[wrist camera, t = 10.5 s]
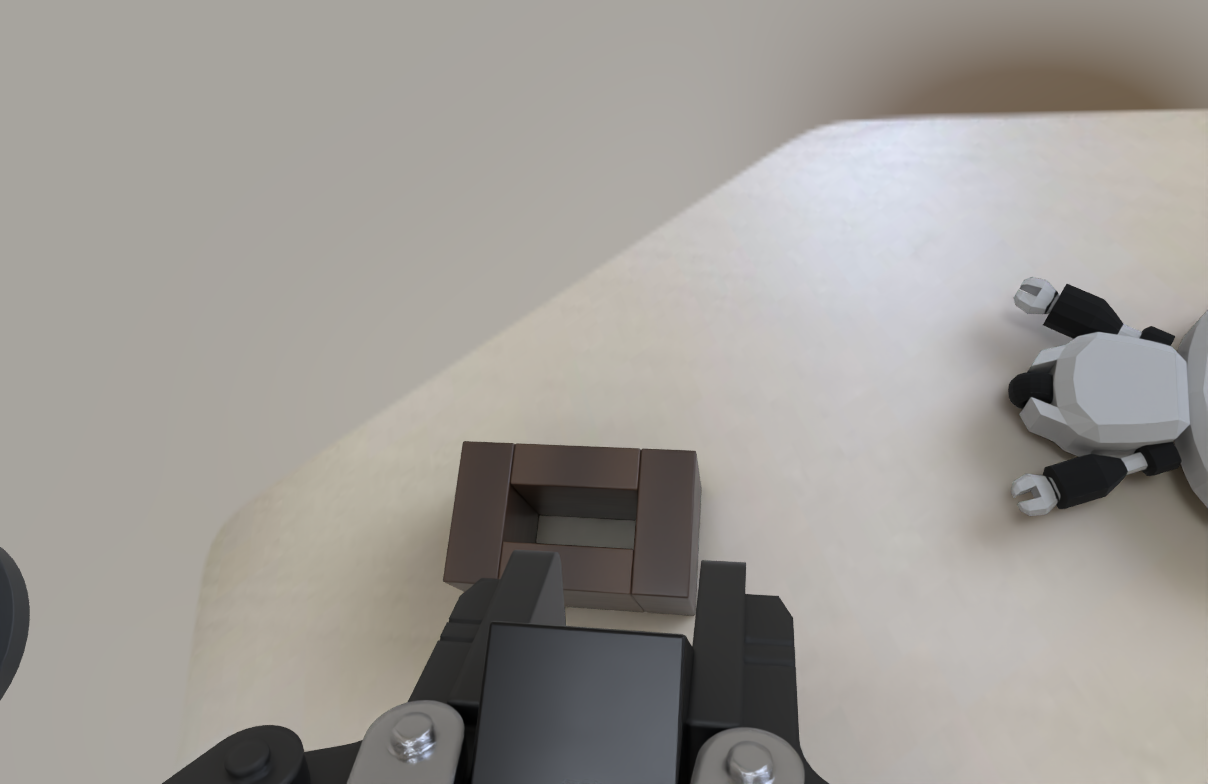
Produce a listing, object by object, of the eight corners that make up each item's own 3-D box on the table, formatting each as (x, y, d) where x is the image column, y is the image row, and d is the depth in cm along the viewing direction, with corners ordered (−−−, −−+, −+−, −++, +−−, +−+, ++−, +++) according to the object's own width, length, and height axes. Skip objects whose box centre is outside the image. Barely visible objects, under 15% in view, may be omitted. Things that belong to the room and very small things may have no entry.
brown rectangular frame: (481, 600, 41) (442, 581, 36) (497, 476, 43) (462, 440, 38) (695, 616, 40) (689, 598, 34) (701, 486, 42) (696, 450, 36)
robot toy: (993, 537, 40) (1387, 582, 36) (1015, 514, 36) (1462, 562, 32) (998, 295, 44) (1353, 312, 40) (1018, 249, 40) (1416, 263, 36)
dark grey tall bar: (596, 773, 24) (392, 832, 10) (603, 680, 25) (425, 616, 11) (745, 788, 23) (751, 873, 9) (748, 692, 24) (756, 639, 10)
